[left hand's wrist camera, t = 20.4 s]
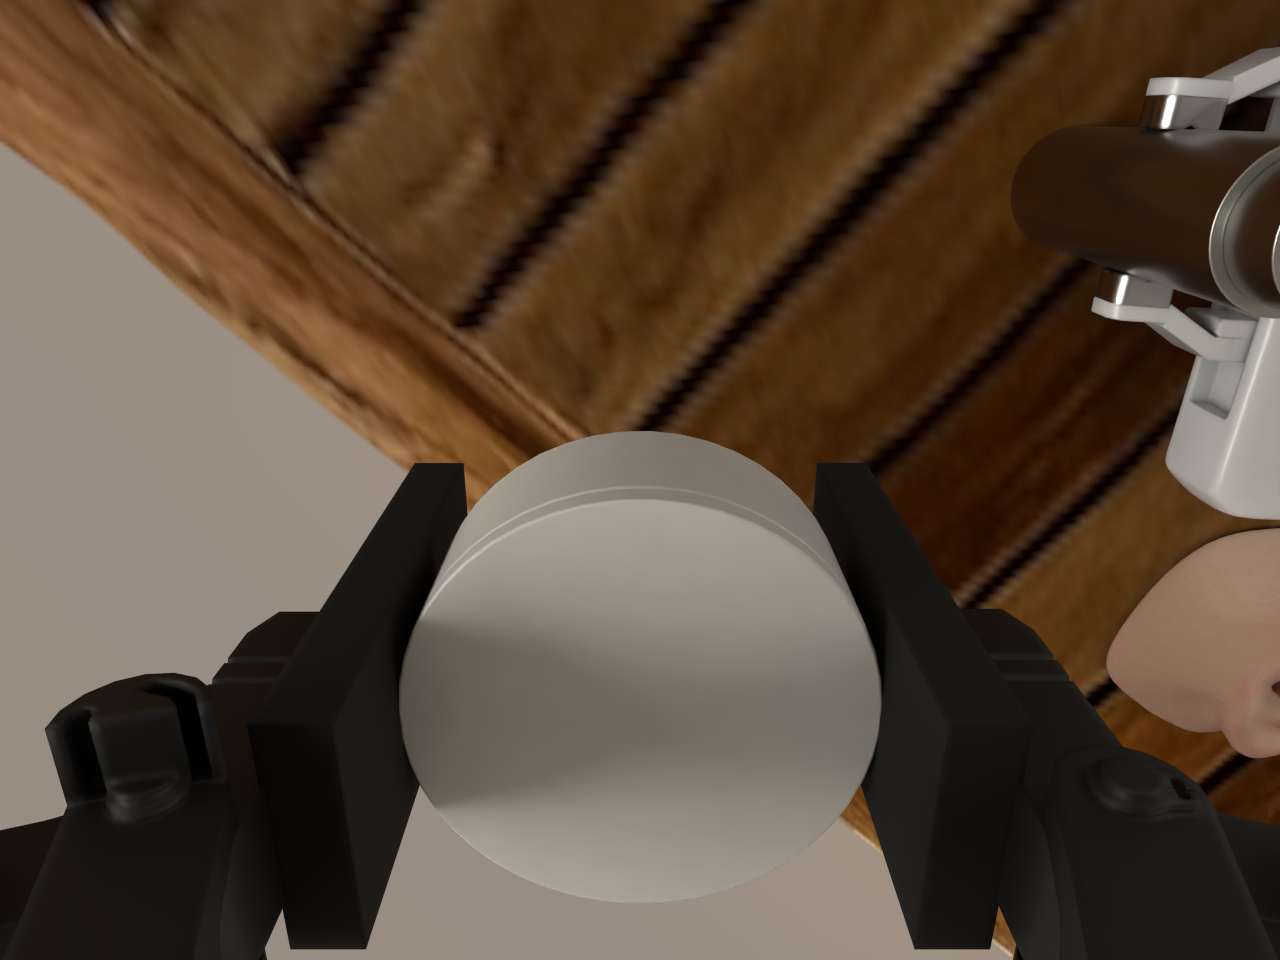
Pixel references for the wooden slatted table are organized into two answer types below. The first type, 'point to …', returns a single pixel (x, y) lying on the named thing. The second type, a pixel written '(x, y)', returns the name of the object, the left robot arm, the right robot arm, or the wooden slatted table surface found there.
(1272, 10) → the wooden slatted table surface
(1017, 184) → the metal cylinder
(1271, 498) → the right robot arm
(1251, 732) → the anatomical model
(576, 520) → the lid
